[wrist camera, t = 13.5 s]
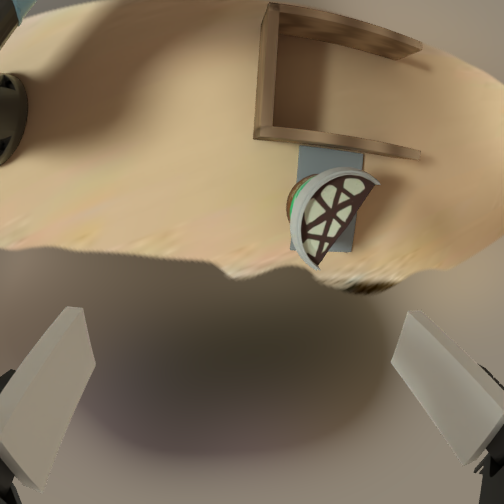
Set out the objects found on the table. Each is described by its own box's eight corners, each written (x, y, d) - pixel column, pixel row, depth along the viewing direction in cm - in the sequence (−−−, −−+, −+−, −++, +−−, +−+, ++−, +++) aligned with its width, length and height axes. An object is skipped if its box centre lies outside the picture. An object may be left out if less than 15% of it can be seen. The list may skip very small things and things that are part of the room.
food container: (312, 144, 37) (341, 143, 28) (347, 172, 39) (383, 180, 29) (258, 221, 40) (270, 244, 30) (295, 246, 41) (316, 274, 32)
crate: (253, 139, 37) (260, 136, 30) (261, 24, 32) (269, 2, 25) (392, 157, 39) (420, 160, 32) (395, 53, 34) (421, 42, 27)
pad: (290, 249, 42) (290, 250, 42) (299, 145, 38) (300, 145, 37) (350, 251, 43) (351, 252, 43) (362, 153, 39) (363, 154, 38)
